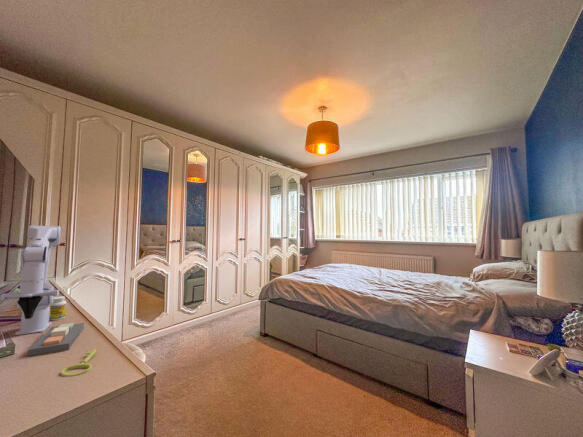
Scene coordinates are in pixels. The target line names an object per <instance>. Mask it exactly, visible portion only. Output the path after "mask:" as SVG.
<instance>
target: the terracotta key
mask: <svg viewBox="0 0 583 437" xmlns="http://www.w3.org/2000/svg"><path fill="white" fill-rule="evenodd" d="M62 340H63V336H56V337H49V338H47V339H46V340H45V341H44V342H43V346H46V345H53V344H59V343H61V342H62Z"/></svg>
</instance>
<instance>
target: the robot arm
mask: <svg viewBox="0 0 583 437" xmlns="http://www.w3.org/2000/svg"><path fill="white" fill-rule="evenodd" d="M61 232H62V227H61V226H60V225H33V224H31V225H29V227H28V230H27V240H28V242H27V246H26V247H25V248H21V251H20V258H19V259H20V269H21V275H20V286H19V291H17V292H16V291H15V292H6V293H5V292H4V293H2V294H0V301H6V300H15V299H16V308H17V309H18V310H20V312H21V319H20V328H19V329H20V330H18V331H16V332H15V334H14V336H18V335H19V336H20V335H25V334H26V335H27V334H33V333H41V332H44V331H45V330H46V329H47V328H49V326H50V325H51V324H52V322H51V321H50V320H49V316H50V305H51V304H52V303H53V298H55V297H59V295H60V289H55V287H54V286H53V285H52V284H50V283H48V282H47V278H48V272H49V271H48V270H49V264H50V256H51V252H52V249H53V248H55V247H57V246H59V244H60V240H61V234H62V233H61Z"/></svg>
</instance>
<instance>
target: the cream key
mask: <svg viewBox="0 0 583 437" xmlns="http://www.w3.org/2000/svg"><path fill="white" fill-rule="evenodd" d="M68 333H69V326H67V327H60V328H55V329H54V330H53V331H52V332H51V337H56V336H66V335H67V334H68Z"/></svg>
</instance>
